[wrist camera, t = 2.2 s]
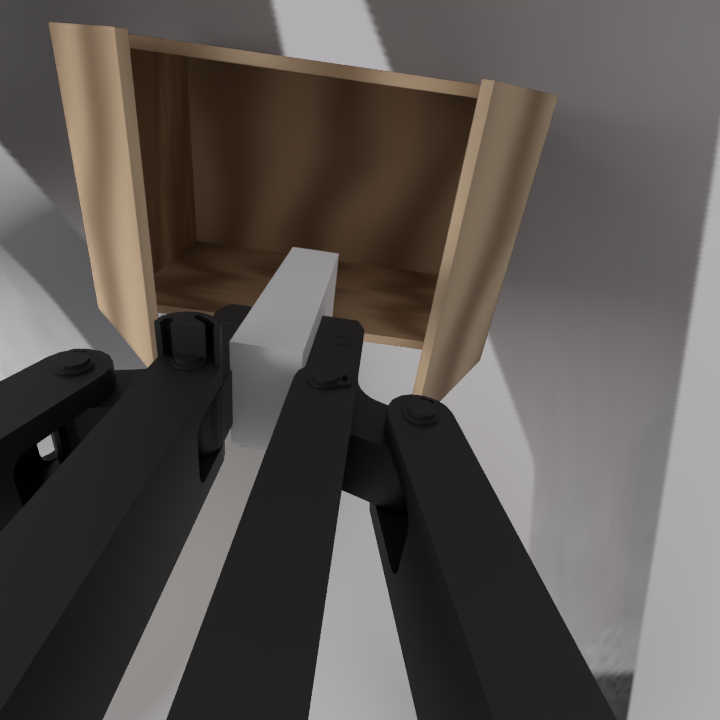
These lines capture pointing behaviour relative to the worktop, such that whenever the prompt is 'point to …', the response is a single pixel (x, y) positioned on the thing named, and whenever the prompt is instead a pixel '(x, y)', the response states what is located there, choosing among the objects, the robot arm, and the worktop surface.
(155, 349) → the flap
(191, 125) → the carton
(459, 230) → the flap
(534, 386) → the worktop surface
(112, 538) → the robot arm
